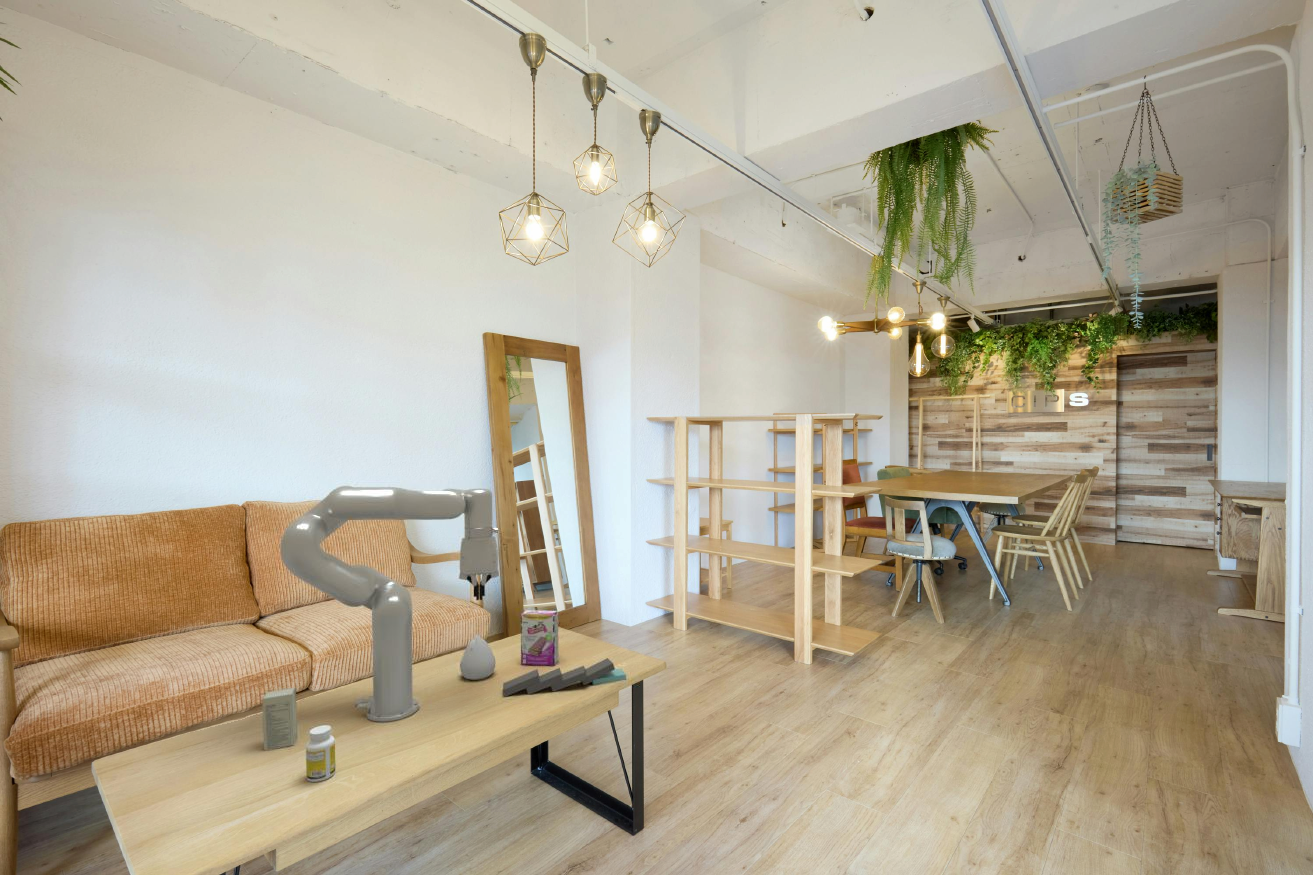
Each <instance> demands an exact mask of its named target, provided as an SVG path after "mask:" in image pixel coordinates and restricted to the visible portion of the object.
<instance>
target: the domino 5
mask: <svg viewBox="0 0 1313 875" xmlns="http://www.w3.org/2000/svg"><path fill="white" fill-rule="evenodd" d="M625 680H627V674H626V673H625V671H623V669H622V668H618V669H615V670H613V671H611V672H609V673H607V674H605V675H603V676H601V677H599V678H597V679H595V680H593V681H592V682H591V684H592V685H593V686H594V685H600V684H606V683H607V684H608V683H613V682H621V681H625Z"/></svg>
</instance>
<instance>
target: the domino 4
mask: <svg viewBox="0 0 1313 875" xmlns="http://www.w3.org/2000/svg"><path fill="white" fill-rule="evenodd" d="M585 670H586V676H587V679H585V680H582V681H580V683H581V684H582V685H583V686H586V685H588V684H589V683H590V684H591V683H592V681H593V680H595V679H597V678H599V677H601V676H603V675H605V674H607V673H609V672H611V671H613V670H616V668H615V665H614V662H613V661H612V660H610V659H609V658H604V659H603V660H601V661H599V662H597V663H595V664H593V665H591V666H589V667H588V668H585Z"/></svg>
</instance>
